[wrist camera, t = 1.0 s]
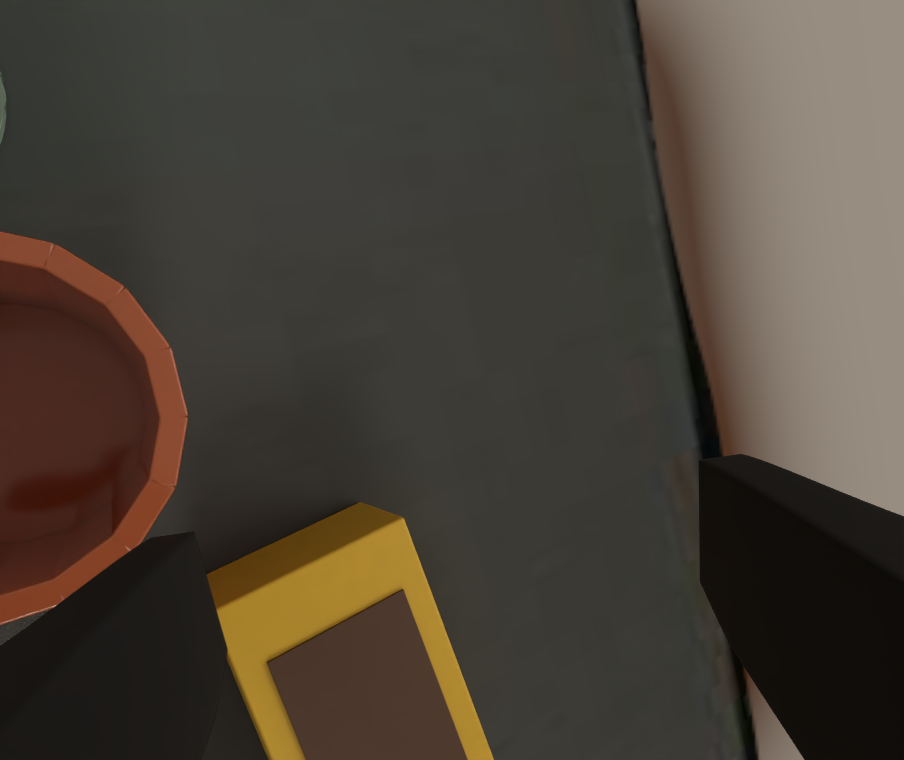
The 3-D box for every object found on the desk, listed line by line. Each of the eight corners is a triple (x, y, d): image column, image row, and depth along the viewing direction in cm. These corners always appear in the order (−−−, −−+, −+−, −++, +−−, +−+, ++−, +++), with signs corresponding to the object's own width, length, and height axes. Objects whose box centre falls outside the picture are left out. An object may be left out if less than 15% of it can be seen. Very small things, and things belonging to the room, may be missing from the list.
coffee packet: (456, 753, 22) (515, 811, 19) (307, 853, 20) (344, 937, 17) (360, 500, 21) (405, 516, 18) (193, 579, 19) (210, 613, 16)
